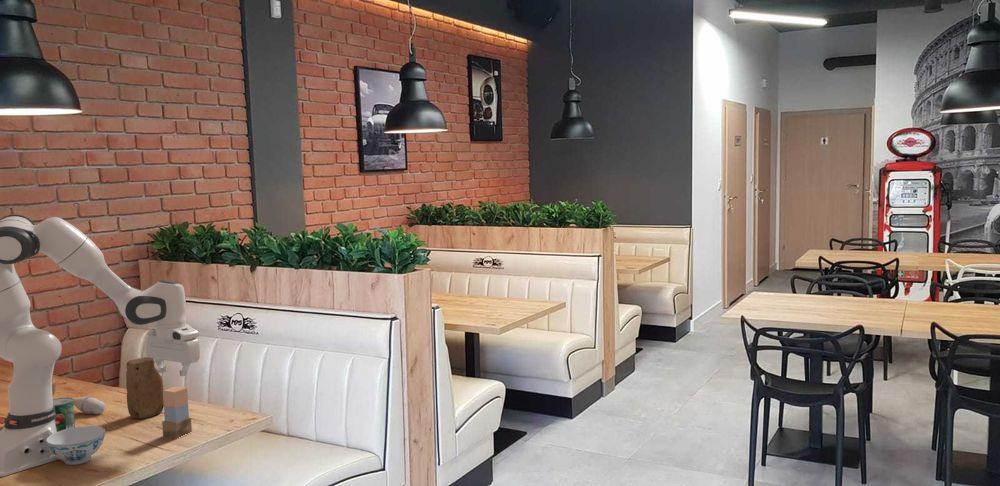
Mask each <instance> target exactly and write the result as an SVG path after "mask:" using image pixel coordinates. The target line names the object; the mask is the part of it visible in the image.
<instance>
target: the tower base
mask: <svg viewBox="0 0 1000 486" xmlns="http://www.w3.org/2000/svg"><path fill="white" fill-rule="evenodd" d="M161 425H162V437H165V438H169V437H170V438H171V439H174V438H176V439H175V440H178V439H180V438H179V437H181V436H183V435H185V434H188V433H190V432H192V433H193V430H192V429H193V428H192V417H189V418H188V419H186V420H183V421H181V422H178V423H172V422H167V421H165V420H163V421H161ZM190 434H191V433H190ZM188 435H189V434H188ZM185 436H186V435H185ZM183 437H184V436H183ZM170 438H169V439H170ZM177 438H178V439H177ZM181 438H182V437H181Z"/></svg>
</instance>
